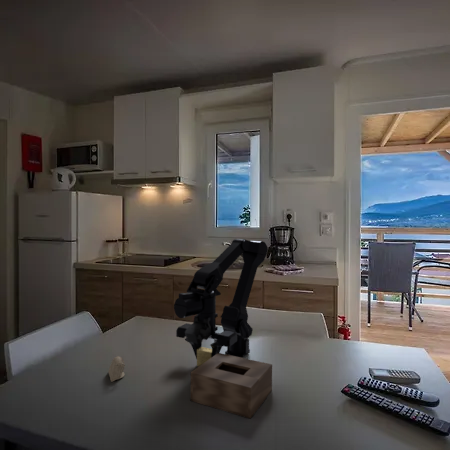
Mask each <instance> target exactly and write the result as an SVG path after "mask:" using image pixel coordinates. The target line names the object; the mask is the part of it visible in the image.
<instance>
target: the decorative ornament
mask: <svg viewBox="0 0 450 450" xmlns="http://www.w3.org/2000/svg"><path fill="white" fill-rule="evenodd" d="M125 367H126V364H125V361H124V358H123V357H122V356H115V357H113V359H112V360H111V363H110V365H109V369H108V376H109V379H110V382H111V383H112V382H114V381H116V380H120V379H122V378H124V377H125V372H124V370H125Z"/></svg>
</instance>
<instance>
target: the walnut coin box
mask: <svg viewBox="0 0 450 450" xmlns="http://www.w3.org/2000/svg"><path fill="white" fill-rule="evenodd" d="M272 391H273V364H271V363H267V362H264V361H258V360H254V359H249V358H245V357H239V356H234V355H229V354H225V353H221V352H219V353H217V354H216V355H214V356H213V357H212V358H210V359H209V360H207V361H206V362H205V363H203V364H202V365H200V366H197V367H196V368H195V369H194V370H192V371H191V372H190V401H191V402H194V403H197V404H200V405H203V406H206V407H207V406H208V407H210V408H213V409H217V410H220V411H223V412H227V413H230V414H233V415H237V416H239V417H242V418H246V419H252V418H253V416H254V415H255V414H256V413H257V411H259V409H260V408H261V406H262V405H263V403H264V402H265V401H266V400H267V398H268V397H269V395H270V394H271V393H272Z"/></svg>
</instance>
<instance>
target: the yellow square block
mask: <svg viewBox="0 0 450 450" xmlns="http://www.w3.org/2000/svg"><path fill="white" fill-rule="evenodd" d="M210 358H212V348H210V347H209V348H208V347H204V346H201V347H200V348H198V349H197V359H196V366H197V367H199V366H200V365H202V364H203V363H205V362H206V361H207V360H209V359H210Z"/></svg>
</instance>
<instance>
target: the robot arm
mask: <svg viewBox="0 0 450 450" xmlns="http://www.w3.org/2000/svg"><path fill="white" fill-rule="evenodd" d="M268 247H269V246H268V245H267V244H266V242H265V241H262V240H247V239H245V238H235V239H233V240H232V241H231V244H229V245H228V246H227V248H226V249H224V251H222V252H221V254H220V255H219V256H217V257H216V258H215V259H214V260H213V261H212V262H210V263H209V264H206V265H204V266H202V267H200V268H199V269H198V270H196V271H195V272H194V274H193V279H192V280H191V282H190V284H189V285H188V287H187V289H186V292H185V293H184V292H181V293H178V298H176V299H175V302H174V304H173V310H174V313H175V315H176V317H177V318H179V319H185V318H188V317H192V316H194V318H193V321H192V323H184V324H182V325H180V326H178V327H177V328H176V330H175V337H177V338H180V339H184V340H185V342H187V343H189V344H190V345H191V348H192V351H193V353H194V356H195V359H196V360H197V349H198V348H200V347H203V346H202V345H203V344H202V343H203V340H205V341H207V340H208V339H212V340H213V343H211V344H210V345H209V346H210V347H211V349H212V357H213V356H214V355H216V354H217V353H221V350H222V348H223V347H226V349H227V350H225V351H224V354H226V355H231V356H235V357H240V358H244V356H245V355H247V354H248V353H249V352H250V351H251V350H250V339H249V338H250V337H251V336H252V335H253V327H252V326H251V325H250V323H248V318H249V315H248V309H247V305H248V301H249V298H250V295H251V292H252V288H253V284H254V281H255V277H256V274H257V270H258V267H259V266H260V265H261V264H262V263H264V261H265V259H266V256H267V255H268V251H269V248H268ZM241 256H242V261H243V264H242V268H241V270H240V271H241V272H240V274H239V278H238V282H237V284H236V288H235V291H234V295H233V298H232V301H231V303H229V305H224V307H223V310H222V313H221V315H220V324H221V327H222V330H223V331H222V332H220V333H219V332H217V331H218V326H216V324H217V323H216V319H217V318H218V314H219V313H217V312H216V311H217V310H216V305H217V304H216V302H217V300H216V299H217V298H216V297H218V296H221V294H222V293H221V292H220V291H219V290H218V287H219V286H220V284H221V283H222V282H223V279H224V274H225V272H226V271H227V270H228V269H229V268H230V267H231V266H232V265H233V264H234V263H235V262H236V261H237V260H238V259H239V258H240V257H241Z"/></svg>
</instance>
